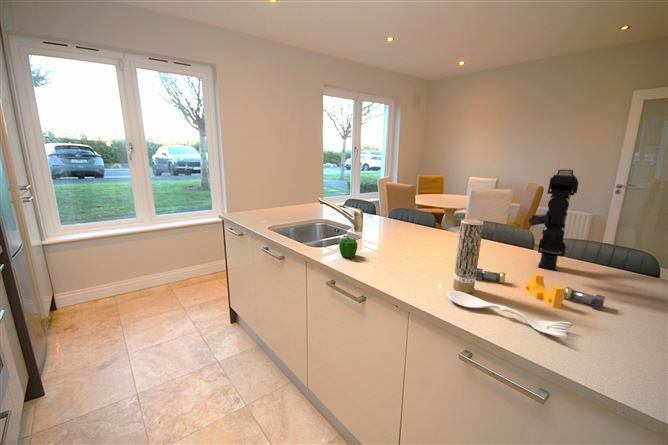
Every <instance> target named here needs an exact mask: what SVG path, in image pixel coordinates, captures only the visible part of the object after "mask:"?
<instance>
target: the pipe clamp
mask: <svg viewBox="0 0 668 445" xmlns="http://www.w3.org/2000/svg"><path fill="white" fill-rule="evenodd" d="M544 278H545V277H544V275H543V274H541V273H532V274H531V280H530V281H528V282H527V281H526V282H525V286H524V291H525V292H527V294H528V295H530V296H532V298H534V299H536V300H542V301H543V302H545V303H546V304H547V305H549V306H551V307H552V308H559V309H561V308H562V305H563V302H564V293H565V289H566V288H564V287H562V286H558V285H555V286H554V285H552V286H551V289H550V290H548V289H547V287H546V284H545V281H544Z"/></svg>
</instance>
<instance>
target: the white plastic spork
mask: <svg viewBox="0 0 668 445" xmlns="http://www.w3.org/2000/svg"><path fill="white" fill-rule="evenodd" d="M447 297H448V299H450V301H452V302H453V303H455V304H456V305H459V306H461V307H464V308H469V309H486V308H494V309H499V310H501V311H502V312H507V313H511V314H514V315H516V316H518V317H520V318H522V320H524V321H525V322H526V323H528V324H529V326H531V327H532V328H533V329H535V330H536V331H538V332H540V333H544V334H546V335H551V336H553V337H556V338H559V339H566V340H567V339H568V338H569V336H568V330H569V328H571V326H573V323H571V322H569V321H551V320H534V319H531V318H530V317H528V316H527V315H525V314H524V313H522V312H520V311H518V310H517V309H513V308H510V307H508V306H507V305H501V304H495V303H491V302H487V301H485V300H483V299H481V298H479V297H476V296H474V295H472V294H470V293H463V292H460V291H456V290H455V289H453V290H449V291H448V292H447Z"/></svg>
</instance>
